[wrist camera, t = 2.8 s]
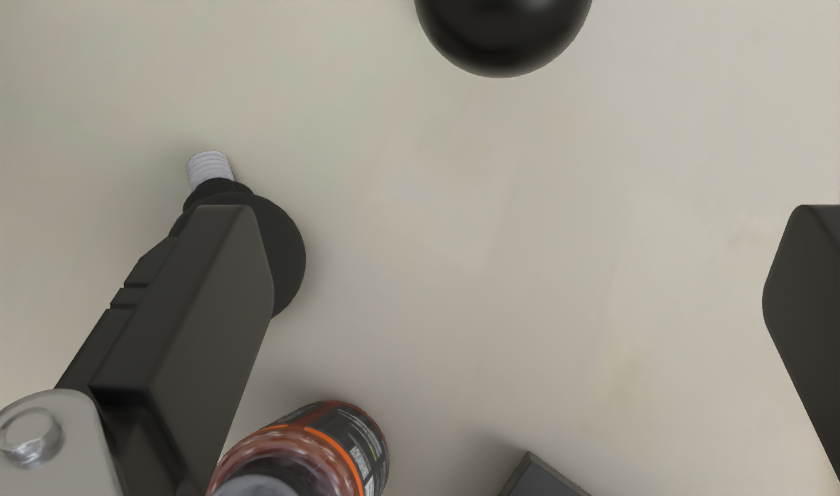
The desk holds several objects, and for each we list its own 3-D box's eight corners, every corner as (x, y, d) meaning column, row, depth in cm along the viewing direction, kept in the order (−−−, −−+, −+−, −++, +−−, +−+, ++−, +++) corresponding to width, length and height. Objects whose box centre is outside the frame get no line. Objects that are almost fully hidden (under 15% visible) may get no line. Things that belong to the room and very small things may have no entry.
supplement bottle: (252, 477, 32) (126, 562, 21) (315, 375, 32) (225, 405, 21) (350, 547, 31) (275, 674, 20) (415, 441, 31) (376, 509, 20)
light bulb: (204, 88, 30) (261, 256, 25) (289, 148, 35) (348, 296, 30) (109, 166, 31) (145, 340, 26) (204, 213, 37) (248, 364, 32)
